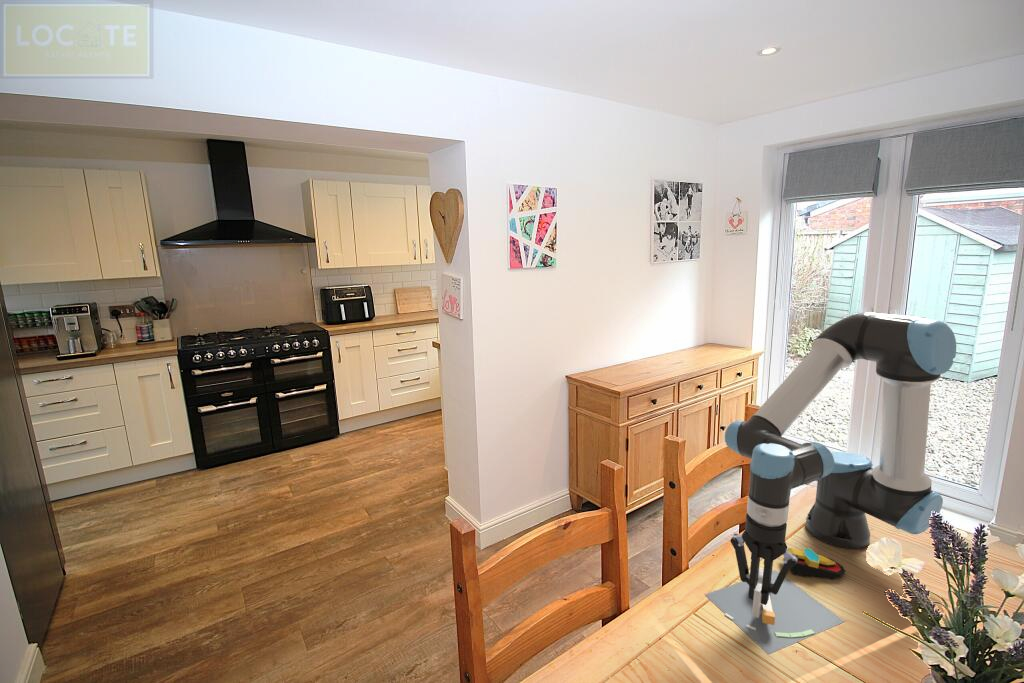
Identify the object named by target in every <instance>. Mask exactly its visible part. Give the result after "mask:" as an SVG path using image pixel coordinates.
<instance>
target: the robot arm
mask: <svg viewBox="0 0 1024 683" xmlns="http://www.w3.org/2000/svg"><path fill="white" fill-rule="evenodd" d="M956 356H957V339H956V336H955V333H954V331H953V329H952V328H951V327H950V326H949V325H948V324H947V323H945V322H944V321H941V320H937V319H930V318H927V317H922V316H909V315H901V314H892V313H881V312H876V311H865V312H858V313H855V314H851V315H849V316H846V317H844V318H842V319H840V320H838V321H836V322H835V323H833V324H832V325H830V326H829V327H827V328H826V329H824V331H822V332H821V333H819V335H817V337H816V338H815V339H814V340H813V341H812V343H811V350H810V351H809V352H808V353H807V355H806V356H805V357H804V358H803V359H802V360H801V361H800V362H799V364H797V366H796V367H795V368H794V369H793V370H792V371H791V373H789V375H788V376H787V377H786V378H785V379H783V380H784V381H782V382H781V384H780V385H779V386H778V387H777V388H776V389H775V391H773V393H771V395H770V396H769V397H768V398H767V399H766V400H765V402H764V403H763V404H762V405H761V406H760V407H759V408H758V409H757V411H756V412H755V413H753V415H752V416H751V417H750V418H749V419H748V420H747V421H745V420H739V419H738V420H735V421H732V422H731V423H729V425H728V426H727V428H726V430H725V432H724V442H725V445H726V446H727V447H728V448H729V449H730V450H732V451H733V452H735V453H737V454H739V455H740V456H742V457H746V458H748V459H750V462H749V467H750V469H749V470H750V471H749V488H748V495H747V505H746V512H747V513H746V515H745V516H746V517H745V524H744V527H745V528H744V531H743V532H742V534H738V533H734V534H733V535H732V537H731V538H730V544H731V545H732V547H733V549H734V551H735V556H736V558H735V559H736V563H737V567H738V569H737V570H738V573H739V577H740V582H742V581H743V582H746V583H748V585H749V595H748V596H749V599H752V600H753V609H752V616H755V617H757V618H759V616H760V614H761V611H762V604H764V605H766V604H767V602H768V600H769V593H773V594H775V595H776V594H777V593H778V591H779V589H780V587H781V585H782V583H783V581H784V579H785V578H787V575H788V573H789V571H790V569H791V568H792V567H794V566H795V565H796V563H797V560H798V556H797V555H796V554H791V553H790V552H789V551H788V550H787V549H788V546H787V543H786V535H787V527H788V524H787V522H788V516H789V508H790V497H791V491H792V490H793V489H795V488H798V487H801V486H805V485H806V484H810V483H813V482H817V483H816V493H815V501H814V502H813V504H812V506H811V508H810V510H809V512H808V513H807V515H806V519H805V527H806V529H807V531H808V532H809V533H810V534H811V535H812V536H813V537H815V538H816V539H818V540H820V541H822V542H824V543H826V544H828V545H830V546H831V545H832V546H835V547H838V548H843V549H852V550H853V549H855V550H857V549H863V548H865V547H866V546H868V545H870V540H871V531H870V528H869V523H868V520H867V516H866V515H869V516H871V517H873V518H875V519H877V520H880V521H881V522H883V523H886V524H888V525H890V526H893V527H894V528H896V529H897V530H901V531H903V532H906V533H907V534H911V535H920V534H922V533H924V532H926V531H927V530H928V529H929V528H930V527H929V518H930V516H931V511H932V510H934V511H936V512H937V513H939V514H940V513H941V509H942V508H943V504H944V503H943V502H944V501H943V500H944V498H943V497H942V495H941V494H940V493H938V492H937V491H933V490H932V483H933V482H932V478H930V476H929V475H928V474H927V473H926V472H925V466H926V453H927V452H926V451H927V439H928V438H927V437H928V428H929V427H928V425H929V415H930V414H929V413H930V401H931V388H932V387H931V385H932V383H934V382H936V381H938V380H939V379H941V375H944V374H946V373H947V372H948V371H949V370H950V369H951V368H952V366H953V364H954V359H955V358H956ZM857 360H858V361H859V360H865V361H870V362H875V364H876V366H875V373H876V375H877V376H878V377H880V378H881V379H882V380H883V382H882V384H883V387H882V403H881V404H882V406H881V423H880V424H881V426H880V446H879V465H877V466H874V467H873V462H872V460H871V459H870V458H868V457H867V456H864V455H862V454H858V453H854V452H853V453H852V452H845V451H844V452H843V451H838V452H831V450H829V448H828V447H826V446H825V445H824V444H822V443H819V442H816V441H814V442H813V441H812V442H803V443H798V442H797V441H793V440H791V439H789V438H786V437H784V436H783V435H784V434H785V433H786V432H787V431H788V429H790V427H791V426H792V425H793V423H795V422H796V420H797V419H798V418H799V417H800V415H802V414H803V413H804V411H805V410H806V409H807V408H808V407H809V405H810V404H811V403H812V402H813V401H815V399H816V398H817V397H818V395H819V394H820V393H821V392H822V391H823V390H824V388H825V387H826V386H828V384H829V383H830V382H831V380H832V379H833V378H834V377H836V375H837V373H839V371H840V370H841V369H845V368H849V367H850V366H851V365H852V364H853V362H855V361H857ZM744 544H745V545H744ZM745 546H746V547H747V549H748V551H749V552H750V568H749V565H748V559H747V555H746V550H745ZM782 556H783V558H782V560H783V564H782V566H781V568H780V570H779V574H778V576H777V578H776V580H775V582H774V584H771V576H772V571H773V565H774V561H775V560H777V559H778V558H780V557H782ZM761 559H762V560H763V569H764V571H763V580H762V584H760V583H757V582H758V580H759V579H758V575H759V568H760V564H761Z"/></svg>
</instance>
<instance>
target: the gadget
mask: <svg viewBox="0 0 1024 683" xmlns="http://www.w3.org/2000/svg"><path fill="white" fill-rule="evenodd" d="M787 550H788V551H789V552H790V553H791V554H796V555H797V556H798V560H797V563H796V565H795V566H794V567H792V568H791V569H789V571H790V573H791V574H793V575H797V576H801V577H804V578H817V579H825V580H833V579H835V578H837V579H840V578H841V577H842V576H844V575H845V573H846V570H845V568H844V566H843V565H842V564H840V563H839V562H837V561H836V560H834V559H832V558H829V557H827V556H824V555H821V554H817V552H816V551H814V550H813V549H812V548H809V547H805V546H804V547H803V548H802V550H800V549H797V548H792V547H787Z"/></svg>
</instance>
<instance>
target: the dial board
mask: <svg viewBox="0 0 1024 683" xmlns="http://www.w3.org/2000/svg"><path fill="white" fill-rule="evenodd" d="M779 572H780V571H779ZM779 572H778V571H777V570H776V569H774V570H773V569H772V577H773V578H772V584H774V582H775V580H776V578H777V576H778V574H779ZM748 595H749V585H748V583H746V582H743V581H740V582H737V583H734V584H730V585H728V586H725V587H723V588H720V589H717V590H713V591H711V592H707V593H706V594H704V596H705V597H706V598H707V599H708V600H709V601H710V602H712V604H714V605H715V606H716V607H717V608H718V609H719V610H721V612H722V613H723V614H724V616H726V617H727V618H728V619H730V620H731V621H732V622H733V623H734V624H735V625H736V626H737V627H738V628H739V629H741V631H743V632H744V633H745V634H746V635H747V636H748V637H749V638H750V639H751V640H752V641H754V642H755V644H756V645H758V647H760V648H761V649H762V650H763V651H764V652H765V653H766V655H770V654H772V653H775V652H777V651H779V650H782V649H785V648H788V647H789V646H791V645H794V644H796V643H798V642H800V641H801V642H802V641H804V640H805V639H807V638H810V637H812V636H815V635H817V634H820V633H821V632H823V631H826V630H828V629H832V628H833V627H836V626H839V625H840V624H842V623H843V624H844V623H845V622H846V620H844V619H843V618H841V617H840V616H839V615H837V614H836V613H835V612H834V611H832V610H830V609H829V608H828V607H826V605H823V603H821V602H819V601H818V600H817V599H815V598H814V597H813V596H811V595H810V594H808V593H807V592H806V591H804V590H803V589H802V588H800V587H799V586H798V585H797V584H795V583H793V581H791V580H789V579H788V578H787V577H785V579H784V581H783V583H782V585H781V587H780V589H779V591H778V593H777V594H776V595H775V594H773V593H771V594H770V600H771V605H772V610H773V612H774V614H775V624H774V625H771V624H766V623H763V621H762V611H761V614H760V616H759V618H757V617H755V616H752V609H753V600H752V599H749V596H748Z"/></svg>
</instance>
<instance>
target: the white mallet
mask: <svg viewBox="0 0 1024 683" xmlns="http://www.w3.org/2000/svg"><path fill="white" fill-rule="evenodd" d="M763 571H764V568H760V567H759V575H758V579H759V580H758V582H757V583H760V584H762V580H763ZM772 578H773V577H772V576H771V584H772ZM770 594H771V593H769V600H768V602H767V604H766V605H764V604H762V621H763V623H766V624H771V625H774V624H775V614H774V612H773V610H772V605H771V600H770Z"/></svg>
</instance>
